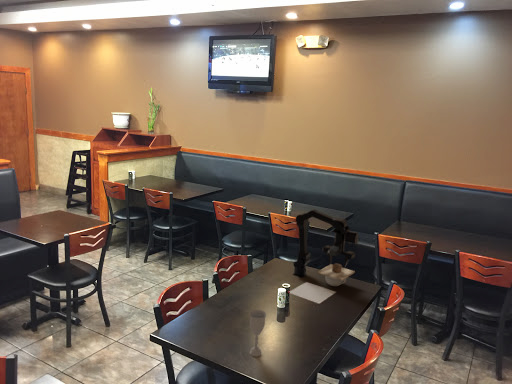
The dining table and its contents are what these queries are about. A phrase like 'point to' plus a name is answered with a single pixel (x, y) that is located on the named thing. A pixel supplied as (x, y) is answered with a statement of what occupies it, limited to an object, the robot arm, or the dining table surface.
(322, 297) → the mat
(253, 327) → the chalice
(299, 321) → the dining table surface
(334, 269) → the lid
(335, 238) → the robot arm
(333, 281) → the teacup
